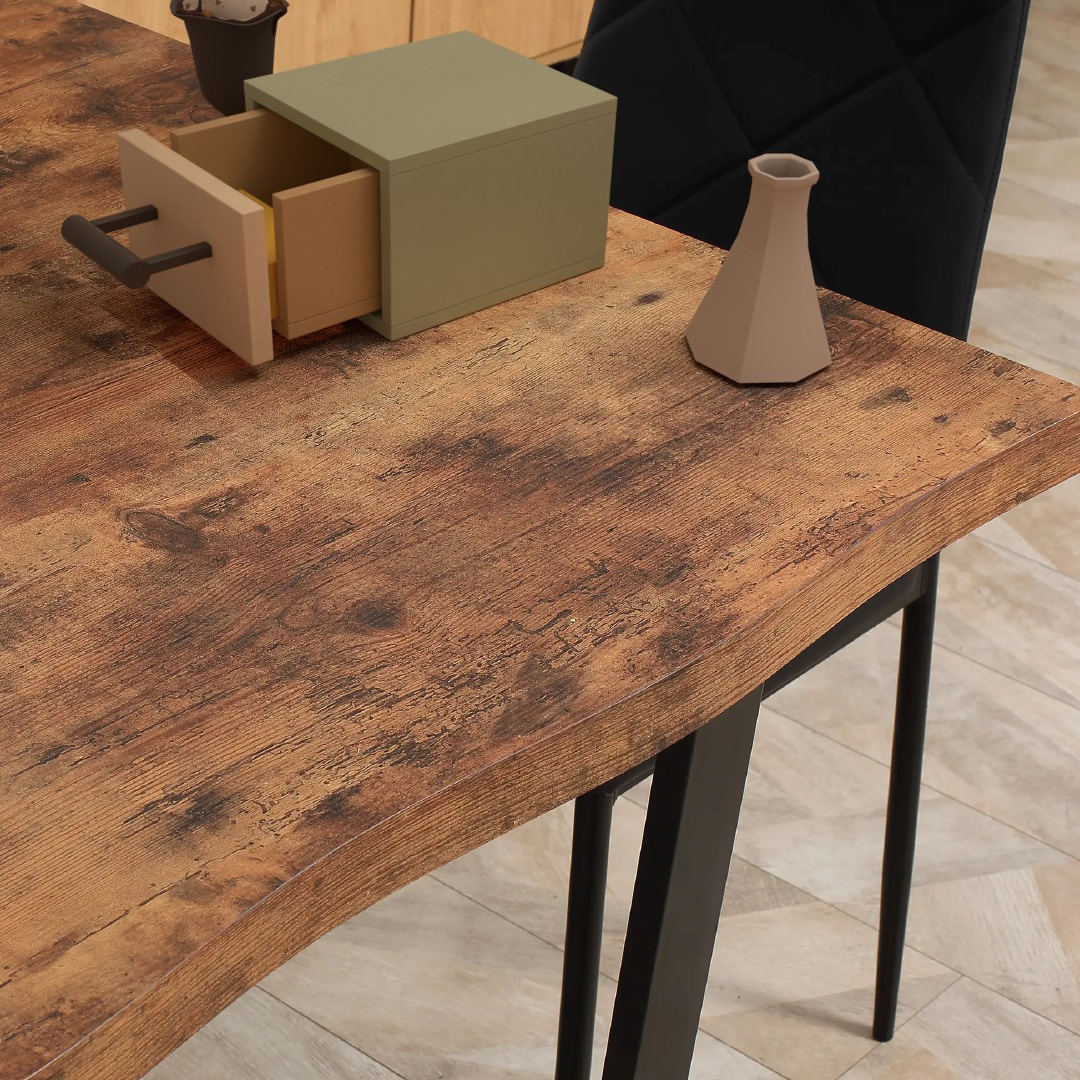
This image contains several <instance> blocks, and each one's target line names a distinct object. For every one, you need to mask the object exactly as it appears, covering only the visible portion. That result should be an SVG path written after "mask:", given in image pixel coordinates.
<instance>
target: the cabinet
mask: <svg viewBox="0 0 1080 1080" xmlns="http://www.w3.org/2000/svg"><path fill="white" fill-rule="evenodd" d="M244 93H245V103H246V112H250V111H254V110H258V109H262V108H266V107H267V108H269V109H270V110H272V111H274V112H276V113H277V114H279V115H281V116H283V117H285V118H286V119H288V120H290V121H292V122H294V123H295V124H297V125H299V126H301V127H302V128H304V129H306V130H308V131H310V132H311V133H313V134H315V135H317V136H319V137H320V138H322V139H324V140H326V141H328V142H329V143H331V144H333V145H335V146H336V147H338V148H340V149H342V150H344V151H345V152H347V153H349V154H351V155H353V156H354V157H356V158H358V159H360V160H362V161H363V162H365V163H367V164H369V165H370V166H372V167H374V168H376V169H378V170H379V171H381V172H380V202H381V267H382V309H379V310H376V311H373V312H370V313H367V314H364V315H361V316H358V317H355V318H356V319H357V320H358V321H360V322H362V323H363V324H364V325H366V327H367V326H368V328H369V329H370V328H371V329H372V330H373V331H375V332H377V334H379V335H381V336H382V337H384V338H385V339H387V340H388V341H390V342H394V341H397V340H400V339H403V338H407V337H409V336H411V335H414V334H417V333H420V332H423V331H425V330H428V329H431V328H434V327H436V326H437V327H438V326H440V325H441V324H445V323H448V322H451V321H453V320H456V319H458V318H463V317H464V316H468V315H470V314H473V313H476V312H478V311H481V310H485V309H487V308H490V307H493V306H495V305H496V306H497V305H499V304H501V303H504V302H506V301H509V300H510V301H511V300H512V299H514V298H517V297H518V298H519V297H520V296H524V295H526V294H530V293H532V292H534V291H537V290H540V289H543V288H546V287H549V286H552V285H554V284H557V283H560V282H562V281H566V280H568V279H571V278H575V277H576V276H577V277H578V276H580V275H583V274H585V273H588V272H591V271H593V270H596V269H599V268H603V267H604V266H605V260H606V248H607V247H606V246H607V235H608V225H609V224H608V221H609V209H610V198H611V197H610V196H611V187H612V186H611V185H612V184H611V183H612V169H613V158H614V147H615V146H614V144H615V133H616V121H617V109H618V97H617V96H615V95H613V94H611V93H609V92H606V91H604V90H602V89H599V88H597V87H595V86H593V85H591V84H588V83H587V82H584V81H581V80H579V79H577V78H574V77H572V76H570V75H568V74H565V73H563V72H561V71H558V70H556V69H554V68H553V67H550V66H548V65H546V64H543V63H541V62H539V61H537V60H534V59H532V58H530V57H527V56H525V55H523V54H520V53H518V52H516V51H513V50H512V49H509V48H507V47H505V46H502V45H500V44H498V43H496V42H494V41H491V40H489V39H487V38H485V37H482V36H480V35H478V34H475V33H474V32H471V31H468V30H466V29H464V30H460V31H455V32H451V33H447V34H443V35H437V36H433V37H430V38H424V39H420V40H416V41H412V42H408V43H402V44H399V45H394V46H390V47H385V48H381V49H377V50H372V51H367V52H364V53H359V54H355V55H350V56H346V57H341V58H336V59H332V60H328V61H323V62H320V63H319V62H318V63H314V64H310V65H306V66H302V67H297V68H293V69H288V70H284V71H280V72H276V73H273V74H270V75H266V76H261V77H257V78H253V79H248V80H244ZM355 318H354V319H355Z"/></svg>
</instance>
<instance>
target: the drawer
mask: <svg viewBox="0 0 1080 1080" xmlns="http://www.w3.org/2000/svg"><path fill="white" fill-rule="evenodd" d="M169 140H170V148H169V147H168V146H166V145H165V144H164V143H161V142H160V141H159V140H157V139H155V138H154V137H152V136H151V135H149V134H148V133H146V132H144V131H143V130H141V129H139V128H133V129H129V130H125V131H120V132H117V133H116V141H117V149H118V150H117V151H118V159H119V165H120V175H121V183H122V192H123V199H124V207H125V210H124V211H121V212H117V213H113V214H110V215H106V216H102V217H99V218H95V219H91V220H89V219H87V218H86V217H84V216H83V215H81V214H72V215H70V216H68V217H66V218H65V219H64V220H63V221H62V224H61V227H60V234H61V237H62V238H63V240H64V241H66V243H69V244H70V245H71V246H72V247H74V248H75V249H76V250H78V251H79V252H80V253H82V254H83V255H84V256H85V257H87V258H88V259H89V260H91V261H93V263H95V264H96V265H97V266H98V267H100V268H101V269H102V270H104V272H107V274H109V275H111V277H113V278H115V279H116V280H117V281H118V282H120V283H121V284H122V285H123V286H125V287H126V288H127V289H130V290H139V289H142V288H143V287H146V288H147V289H149V290H150V291H151V292H152V293H154V294H156V295H157V296H158V297H160V298H161V300H163V301H165V302H166V303H168V304H169V305H170V306H172V308H174V309H176V310H177V311H178V312H179V313H181V314H182V315H183V316H185V317H186V318H188V319H189V320H190V321H191V322H193V323H194V324H196V325H197V326H198V327H199V328H201V329H202V330H204V331H205V332H206V333H208V334H209V335H210V336H212V337H213V338H214V339H216V340H217V341H218V342H219V343H221V344H223V345H224V346H225V347H226V348H227V349H229V350H230V351H232V352H233V353H235V354H236V355H237V356H238V357H240V358H241V359H243V360H244V361H245V362H246V363H248V364H249V365H250V366H252V367H255V366H258V365H261V364H264V363H266V362H269V361H272V360H274V347H273V345H274V344H273V330H274V331H275V332H277V334H279V335H281V336H282V337H284V338H285V339H287V340H288V341H290V340H293V339H296V338H299V337H302V336H305V335H309V334H311V333H314V332H316V331H320V330H322V329H325V328H328V327H331V326H335V325H337V324H340V323H343V322H346V321H349V320H352V319H355V317H358V316H361V315H364V314H367V313H370V312H373V311H376V310H379V309H382V267H381V202H380V172H381V171H379V170H378V169H376V168H374V167H372V166H370V165H369V164H367V163H365V162H363V161H362V160H360V159H358V158H356V157H354V156H353V155H351V154H349V153H347V152H345V151H344V150H342V149H340V148H338V147H336V146H335V145H333V144H331V143H329V142H328V141H326V140H324V139H322V138H320V137H319V136H317V135H315V134H313V133H311V132H310V131H308V130H306V129H304V128H302V127H301V126H299V125H297V124H295V123H294V122H292V121H290V120H288V119H286V118H285V117H283V116H281V115H279V114H277V113H276V112H274V111H272V110H270V109H269V108H267V107H266V108H262V109H258V110H254V111H250V112H245V113H241V114H237V115H233V116H229V117H225V116H224V117H220V118H216V119H212V120H208V121H204V122H200V123H196V124H195V123H194V124H191V125H187V126H184V127H179V128H174V129H171V130H169ZM241 189H243V190H244V191H246V192H247V193H249V194H251V195H252V196H254V197H255V198H257V199H259V200H260V201H262V202H263V203H265V204H266V205H268V206H270V207H271V208H273V218H274V235H275V252H276V269H277V285H278V302H279V317H278V318H275V319H272V320H271V312H270V296H269V280H268V265H267V249H266V233H265V217H264V208H263V207H262V206H260V205H258V204H257V203H255V202H254V201H252V200H250V199H249V198H247V197H246V196H244V195H242V194H241V193H239V192H238V191H237V190H241ZM124 229H127V233H128V241H129V248H130V249H128V248H127V247H125V246H124V245H123V244H122V243H120V242H119V241H117V240H116V239H115V238H114V237H112V236H110V235H109V233H113V232H116V231H121V230H124ZM272 329H273V330H272Z"/></svg>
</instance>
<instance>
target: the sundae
mask: <svg viewBox="0 0 1080 1080" xmlns="http://www.w3.org/2000/svg"><path fill="white" fill-rule="evenodd" d="M169 4H170V5H169V10H170V13H171V15H172V16H174V17H175V18H178V20H182V21H183V23H184V27H185V30H186V33H187V36H188V40H189V46H190V49H191V54H192V60H193V64H194V69H195V74H196V78H197V80H198V83H199V87H200V91H201V94H202V97H203V98H204V99H205V100H206V101H207V102H208V103H209V104H210V105H211V107H213V108H214V109H215V110H216V111H218V112H219V113H220V114H222V115H223V116H224V118H225V117H229V116H233V115H237V114H241V113H245V112H246V103H245V93H244V80H248V79H253V78H257V77H261V76H266V75H270V74H274V67H275V66H274V65H275V53H276V52H275V50H276V38H277V30H278V24H279V20H280V19H281V18H283V17H284V16H285V15H287V13H288V11H289V10H288V8H289V7H290V3H289V2H288V1H287V0H171V1H170V3H169Z"/></svg>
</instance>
